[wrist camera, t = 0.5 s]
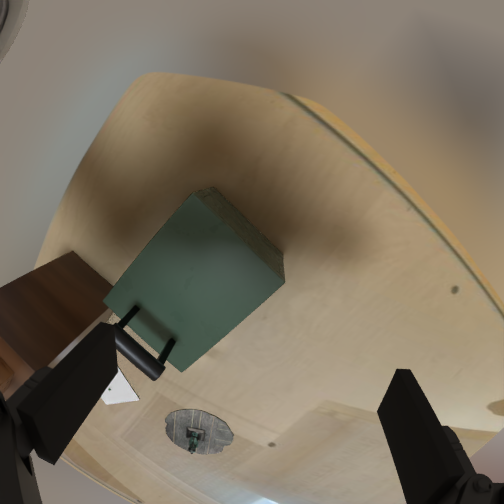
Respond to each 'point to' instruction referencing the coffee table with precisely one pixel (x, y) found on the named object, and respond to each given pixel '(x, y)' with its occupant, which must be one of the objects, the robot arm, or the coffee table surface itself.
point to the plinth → (49, 315)
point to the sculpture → (198, 431)
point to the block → (5, 375)
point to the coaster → (119, 391)
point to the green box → (243, 228)
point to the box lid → (188, 289)
